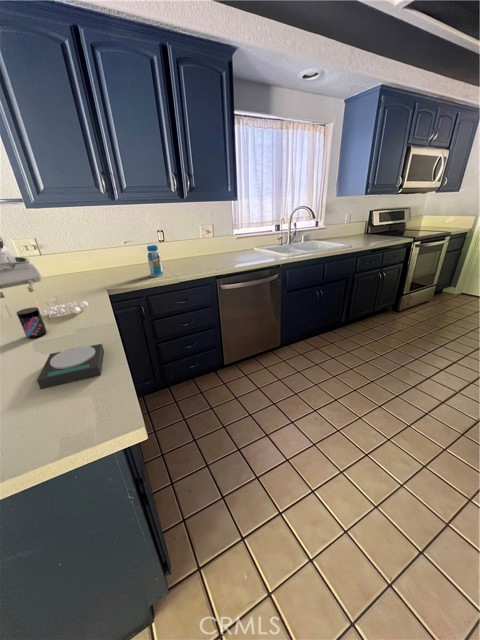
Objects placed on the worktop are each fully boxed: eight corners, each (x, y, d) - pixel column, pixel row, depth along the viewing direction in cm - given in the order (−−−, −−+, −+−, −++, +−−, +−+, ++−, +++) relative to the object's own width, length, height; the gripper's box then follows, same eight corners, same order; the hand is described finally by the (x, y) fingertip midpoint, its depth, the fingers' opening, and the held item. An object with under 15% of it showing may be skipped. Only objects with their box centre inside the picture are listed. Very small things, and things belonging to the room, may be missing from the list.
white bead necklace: (33, 322, 118) (29, 314, 116) (55, 307, 131) (51, 300, 129) (74, 320, 116) (70, 312, 114) (92, 306, 129) (89, 298, 127)
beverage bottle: (148, 276, 182) (142, 246, 174) (155, 273, 189) (150, 244, 181) (159, 276, 179) (153, 246, 171) (165, 273, 187) (161, 244, 178)
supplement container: (22, 339, 101) (11, 313, 96) (37, 331, 107) (27, 307, 102) (37, 339, 100) (27, 314, 95) (51, 331, 106) (42, 307, 101)
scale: (40, 389, 72) (35, 378, 70) (53, 361, 85) (49, 352, 83) (100, 375, 77) (97, 365, 75) (104, 351, 90) (101, 342, 88)
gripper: (-34, 266, 97) (-20, 296, 95) (32, 257, 111) (46, 283, 109) (-30, 276, 102) (-16, 305, 100) (33, 266, 115) (47, 291, 113)
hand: (17, 294), depth 104 cm, fingers open, 8 cm apart
